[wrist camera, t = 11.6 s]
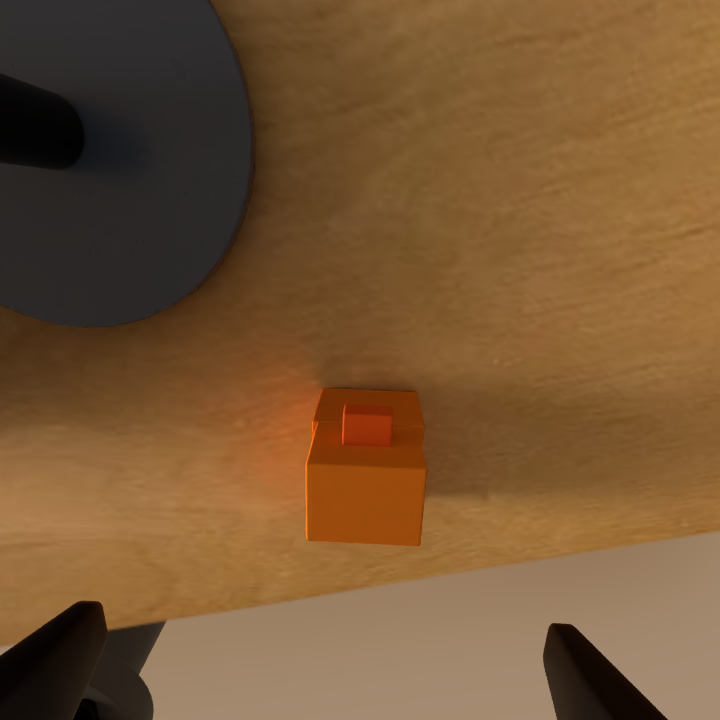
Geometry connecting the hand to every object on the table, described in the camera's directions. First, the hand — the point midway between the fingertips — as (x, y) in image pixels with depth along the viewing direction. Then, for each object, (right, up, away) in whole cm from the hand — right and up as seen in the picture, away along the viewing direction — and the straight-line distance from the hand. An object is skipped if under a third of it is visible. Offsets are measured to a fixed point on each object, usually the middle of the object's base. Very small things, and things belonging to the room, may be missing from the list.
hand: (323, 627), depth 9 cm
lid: (-10, +13, +7) cm, 18 cm away
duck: (+1, +2, +11) cm, 11 cm away
